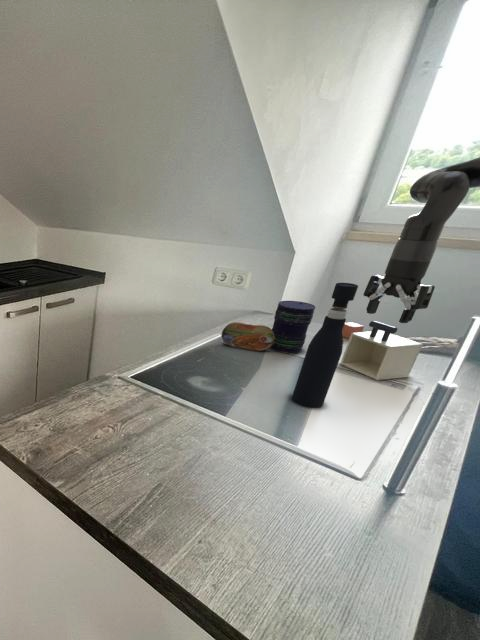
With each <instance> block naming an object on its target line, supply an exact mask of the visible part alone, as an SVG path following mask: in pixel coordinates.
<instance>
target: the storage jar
mask: <svg viewBox="0 0 480 640" xmlns="http://www.w3.org/2000/svg"><path fill="white" fill-rule="evenodd" d="M315 310H316V306H315V305H314V304H312V303H309V302H305V301H299V300H281V301H279V302H278V303H277V307H276V310H275V314H274V316H273V319H274V321H273V324H272V328H271V330H272V331H273V333H274V336H275V341H274V343H273V345H272V346H271V347H270V348H269V349H270V350H272V351H275V352H278V353H283V354H300V353H301V352H302V351H303V347H304V345H305V343H306V339H307V332H308V328H309V326H310V324H311V323H312V319H313V318H314V313H315Z"/></svg>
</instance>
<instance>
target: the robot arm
mask: <svg viewBox="0 0 480 640" xmlns="http://www.w3.org/2000/svg"><path fill="white" fill-rule="evenodd" d="M476 188H480V156H477V157H475V158H473V159H470V160H467V161H463V162H458V163H455V164H452V165H449V166H444V167H442V168H438V169H436V170H433V171H430V172H428V173H426V174H424V175H422V176H420V177H419V178H418V179H416V180H415V181H414V182H413V184H412V185H411V187H410V189H409V197H410V198H411V200H413V201H415V202H416V203H419V204H424V206H423V207H422V209H421V211H420V212H419V213H416V214H412V215H410V216H409V217H408V218H407V219H406V221H404V225H403V228H402V229H401V232H400V235H399V238H398V240H397V242H396V243H395V245H394V247H393V249H392V252H391V255H390V257H389V260H388V262H387V265H386V268H385V270H384V276H383V275H382V274H375V275H371V276H370V278H369V280H368V283H367V285H366V287H365V290H364V292H363V294H362V295H363V297H366V298H368V299H369V302H368V303H367V305H366V313H367V314H369V315H374V314H376V313H377V310H378V308H379V306H380V303H381V299H383V298H384V297H386V296H392V297H394V298H397V299H400V301H401V302H402V303H403V305H404V309H403V310H402V313H401V315H400V317H399V320H398V322H399V323H400V324H408V323H409V322H411V321H412V320H413V317H414V316H415V313H416V311H417V310H427V308H429V304H430V302H431V300H432V297H433V294H434V291H435V288H436V287H435V285H433V284H429V285H427V284H426V285H425V284H422V280H423V278H424V277H425V276H426V273H427V271H428V269H429V266H430V264H431V261H432V259H433V258H434V255H435V252H436V249H437V245H438V242H439V239H440V237H441V235H442V232H443V231H444V228H445V225H446V223H447V221H449V219H451V217H452V216H453V215H454V213H455V212H456V211H457V209H458V208H459V207H460V205H461V204H462V203H463V201H464V200H465V198H466V197H467V194H468V193H469V191H470V189H476ZM380 285H381V287H380ZM379 287H380V288H379ZM416 291H417V292H416ZM417 293H418V294H417Z"/></svg>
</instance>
